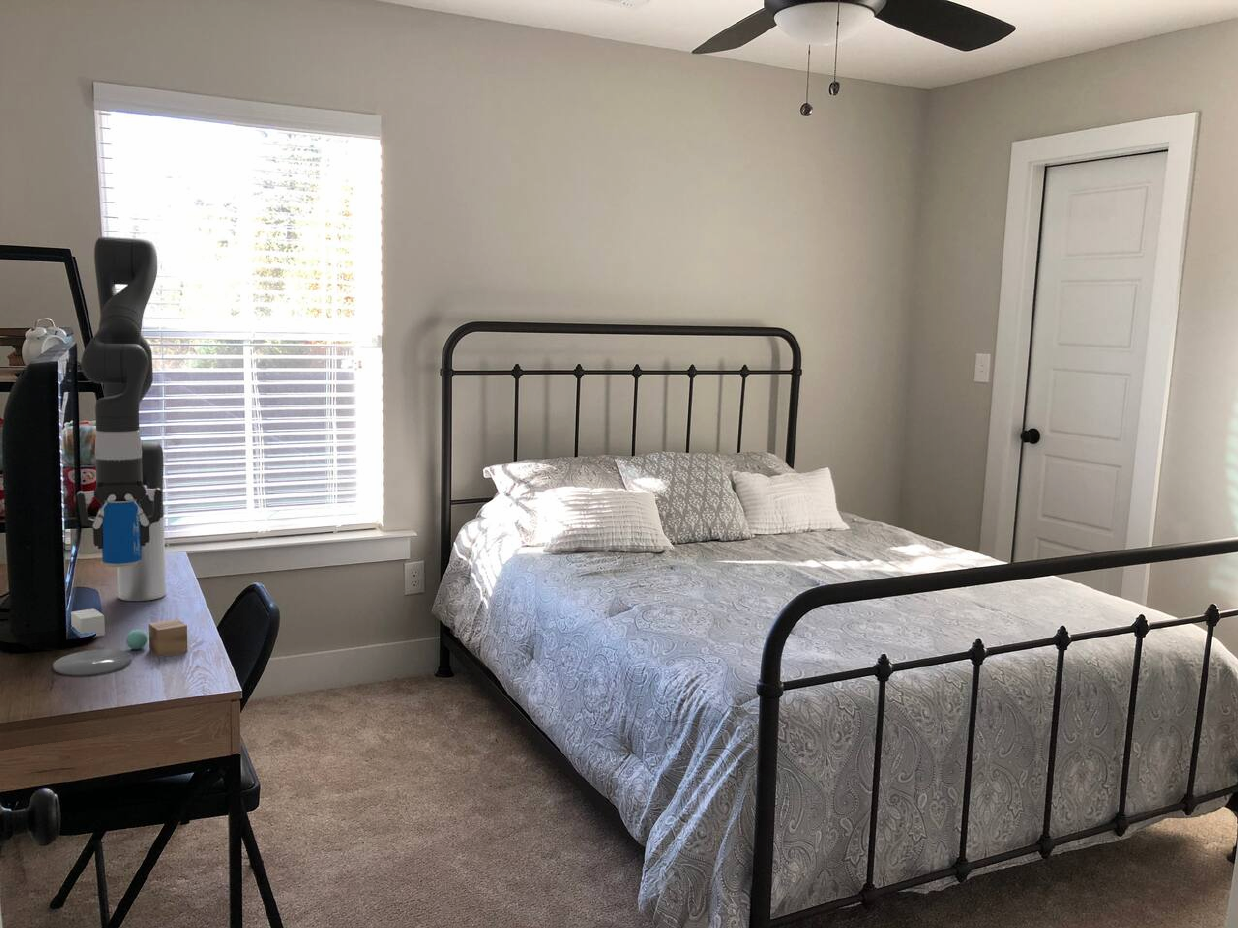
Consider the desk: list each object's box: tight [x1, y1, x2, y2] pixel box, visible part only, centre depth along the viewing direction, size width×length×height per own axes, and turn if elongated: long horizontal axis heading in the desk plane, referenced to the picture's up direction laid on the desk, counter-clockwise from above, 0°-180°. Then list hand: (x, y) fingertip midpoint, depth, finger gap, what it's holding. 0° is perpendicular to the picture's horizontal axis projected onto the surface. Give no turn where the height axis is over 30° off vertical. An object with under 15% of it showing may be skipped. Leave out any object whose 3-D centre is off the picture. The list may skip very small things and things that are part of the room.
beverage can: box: [100, 499, 142, 568], centre depth 183 cm, size 6×6×12 cm
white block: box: [70, 608, 106, 638], centre depth 190 cm, size 6×4×4 cm, turn 44°
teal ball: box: [125, 629, 149, 650], centre depth 182 cm, size 4×4×4 cm
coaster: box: [53, 648, 133, 677], centre depth 174 cm, size 12×12×1 cm
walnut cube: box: [148, 618, 188, 658], centre depth 182 cm, size 5×5×5 cm
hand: (121, 546), depth 183 cm, fingers closed on beverage can, 6 cm apart
